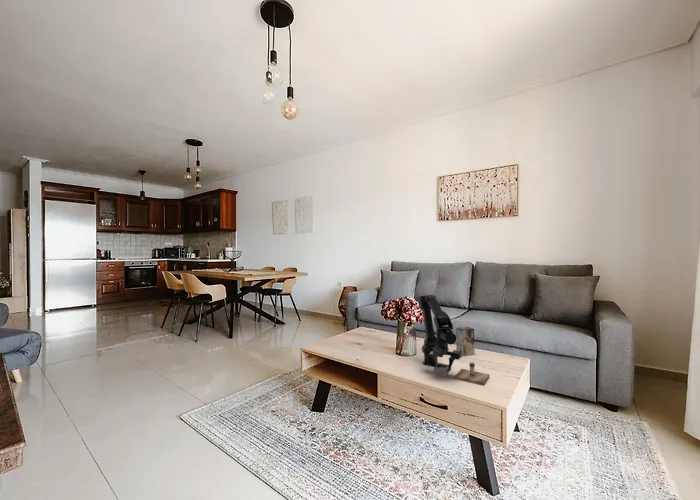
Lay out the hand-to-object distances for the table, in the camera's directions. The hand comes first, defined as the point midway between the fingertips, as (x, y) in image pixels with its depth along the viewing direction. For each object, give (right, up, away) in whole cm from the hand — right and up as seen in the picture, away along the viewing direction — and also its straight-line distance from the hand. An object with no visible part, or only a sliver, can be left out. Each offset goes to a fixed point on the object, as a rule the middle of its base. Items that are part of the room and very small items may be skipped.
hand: (442, 368), depth 166 cm
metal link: (0, -1, 0) cm, 1 cm away
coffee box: (+24, -3, +32) cm, 40 cm away
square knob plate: (+14, -3, -5) cm, 15 cm away
